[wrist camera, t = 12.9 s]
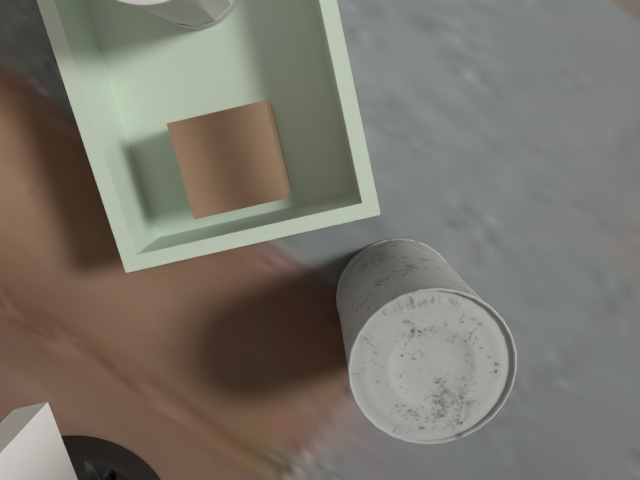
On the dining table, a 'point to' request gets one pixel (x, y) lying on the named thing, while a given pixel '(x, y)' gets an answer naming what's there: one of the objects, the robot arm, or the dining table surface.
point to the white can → (421, 344)
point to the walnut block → (230, 159)
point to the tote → (203, 98)
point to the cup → (187, 11)
